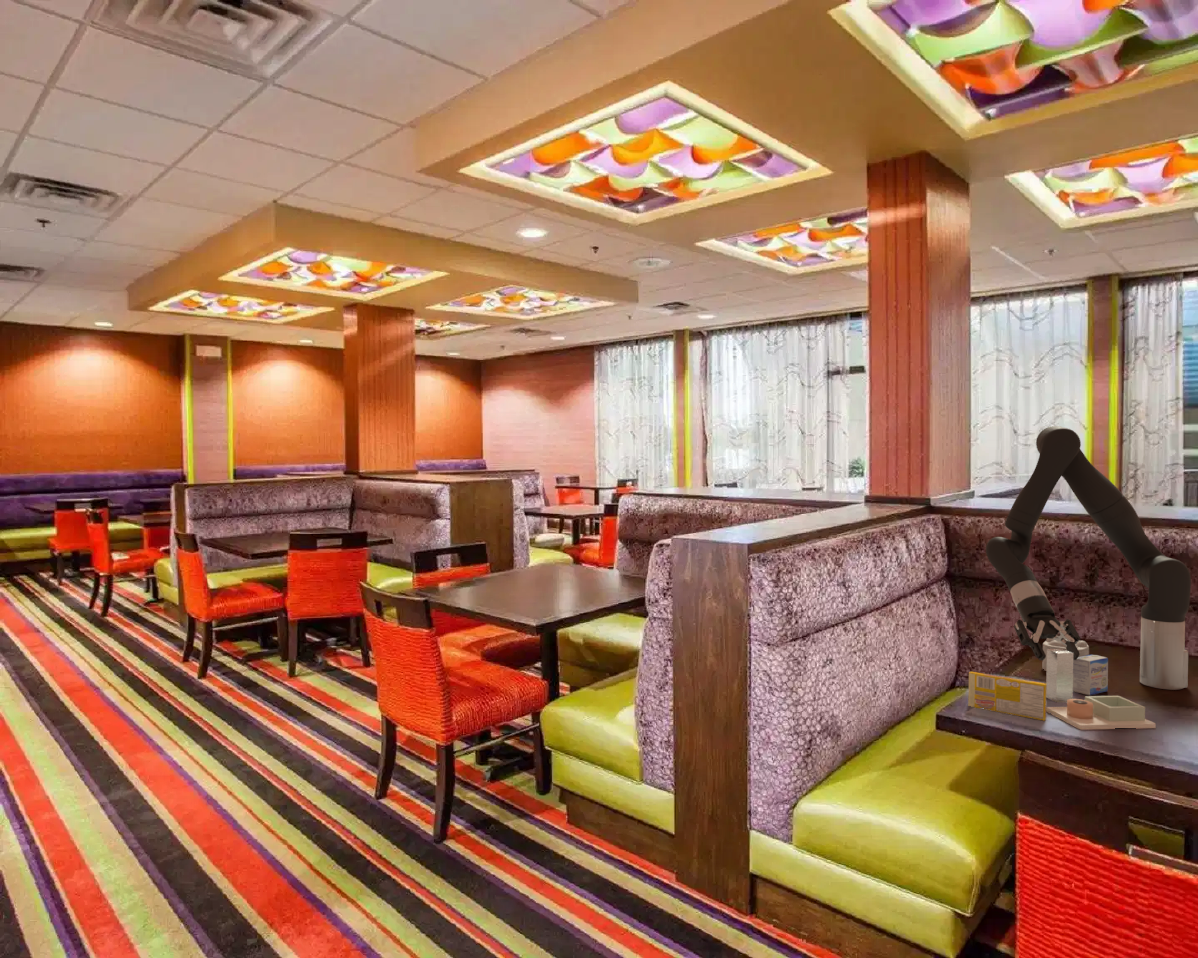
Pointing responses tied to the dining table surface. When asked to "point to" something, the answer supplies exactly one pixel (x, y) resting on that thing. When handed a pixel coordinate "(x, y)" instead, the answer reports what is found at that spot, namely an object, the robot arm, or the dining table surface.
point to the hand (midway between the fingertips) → (1059, 658)
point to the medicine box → (1090, 675)
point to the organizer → (1102, 713)
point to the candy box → (1007, 695)
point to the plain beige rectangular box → (1059, 675)
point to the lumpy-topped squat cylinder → (1054, 644)
